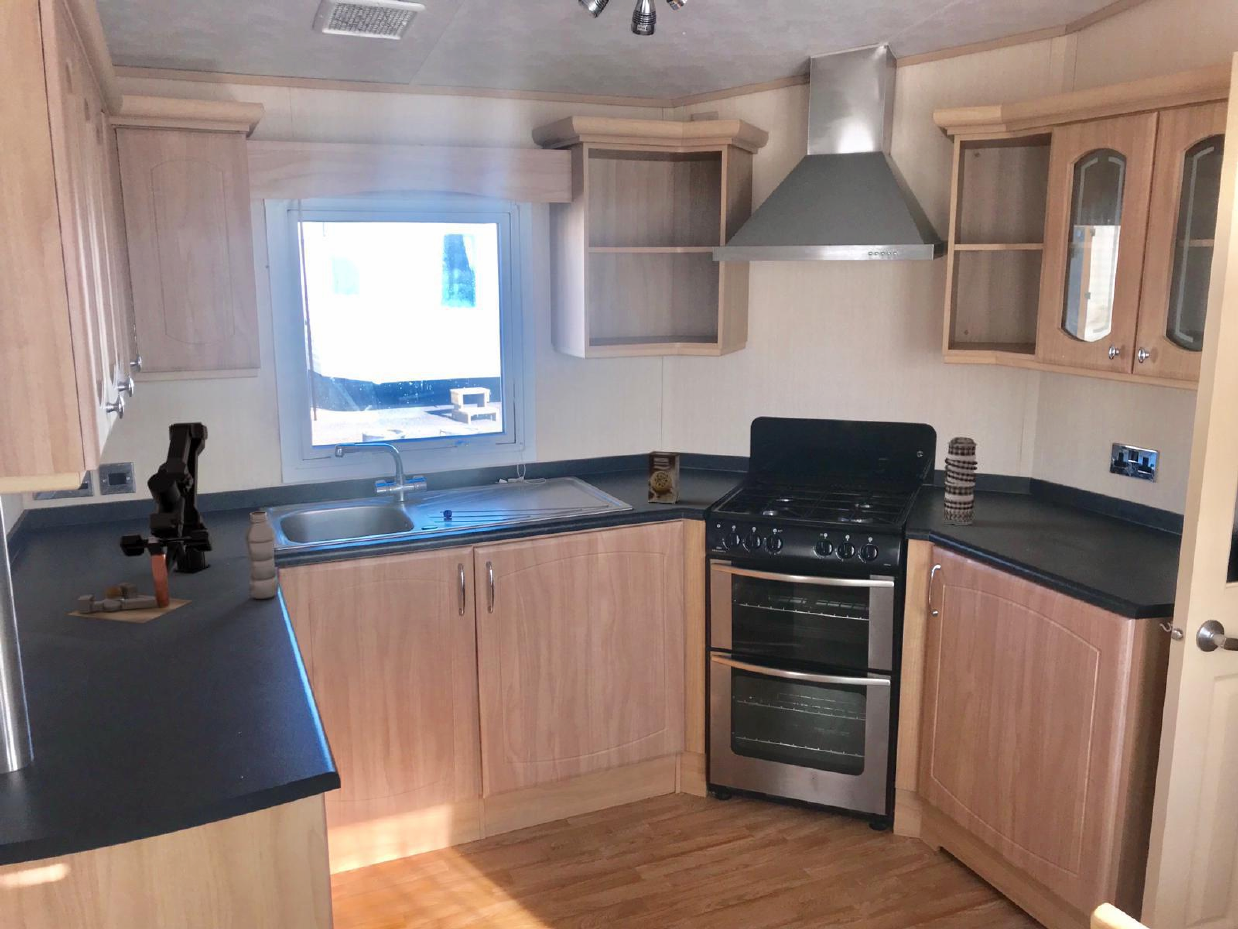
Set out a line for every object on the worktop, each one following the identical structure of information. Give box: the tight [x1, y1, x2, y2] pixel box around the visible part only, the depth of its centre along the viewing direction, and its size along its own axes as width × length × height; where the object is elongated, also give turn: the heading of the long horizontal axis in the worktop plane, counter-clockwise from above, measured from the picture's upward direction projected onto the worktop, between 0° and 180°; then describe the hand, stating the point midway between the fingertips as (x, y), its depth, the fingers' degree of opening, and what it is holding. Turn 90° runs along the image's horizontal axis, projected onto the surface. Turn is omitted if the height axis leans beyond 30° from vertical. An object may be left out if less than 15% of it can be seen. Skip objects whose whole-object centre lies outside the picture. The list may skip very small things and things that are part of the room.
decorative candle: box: [942, 436, 978, 522], centre depth 287 cm, size 9×9×25 cm
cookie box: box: [647, 450, 681, 503], centre depth 317 cm, size 9×6×16 cm
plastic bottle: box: [244, 510, 280, 600], centre depth 226 cm, size 6×7×20 cm
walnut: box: [104, 585, 123, 599], centre depth 221 cm, size 4×4×4 cm
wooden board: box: [67, 582, 193, 624], centre depth 217 cm, size 15×20×4 cm
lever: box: [76, 553, 170, 613], centre depth 215 cm, size 18×4×11 cm, turn 103°
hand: (163, 575), depth 220 cm, fingers closed
